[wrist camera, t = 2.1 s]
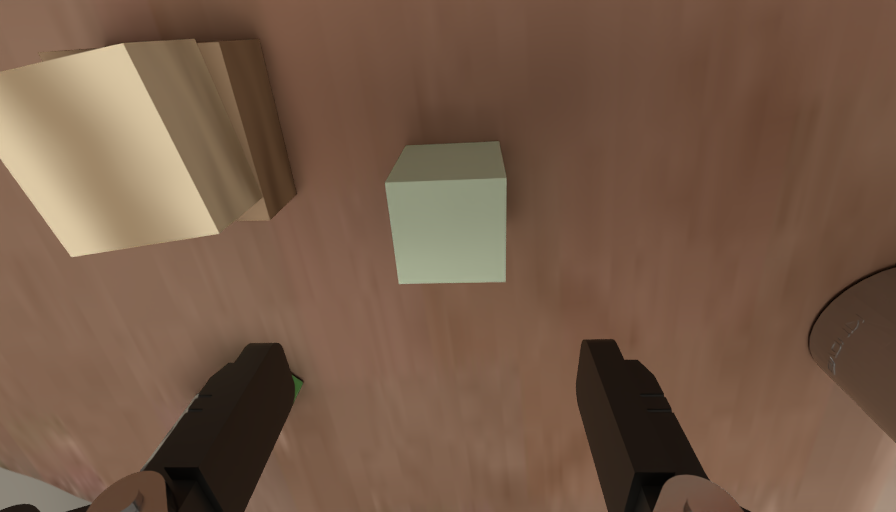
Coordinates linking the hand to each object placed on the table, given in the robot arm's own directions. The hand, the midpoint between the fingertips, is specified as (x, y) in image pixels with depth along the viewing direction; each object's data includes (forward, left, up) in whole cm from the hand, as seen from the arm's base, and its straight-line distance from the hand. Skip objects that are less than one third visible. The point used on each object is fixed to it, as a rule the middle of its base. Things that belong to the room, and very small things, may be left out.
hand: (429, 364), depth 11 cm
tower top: (+13, -4, -10) cm, 17 cm away
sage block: (0, 0, -14) cm, 14 cm away
